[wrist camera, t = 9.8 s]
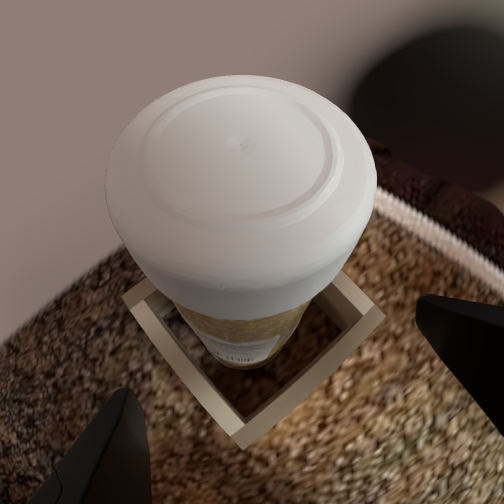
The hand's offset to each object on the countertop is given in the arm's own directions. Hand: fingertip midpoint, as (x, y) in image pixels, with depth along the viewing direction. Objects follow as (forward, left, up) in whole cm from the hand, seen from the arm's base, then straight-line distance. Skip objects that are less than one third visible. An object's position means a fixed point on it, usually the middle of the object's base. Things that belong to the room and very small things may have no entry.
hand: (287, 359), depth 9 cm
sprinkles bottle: (+3, +1, -8) cm, 9 cm away
